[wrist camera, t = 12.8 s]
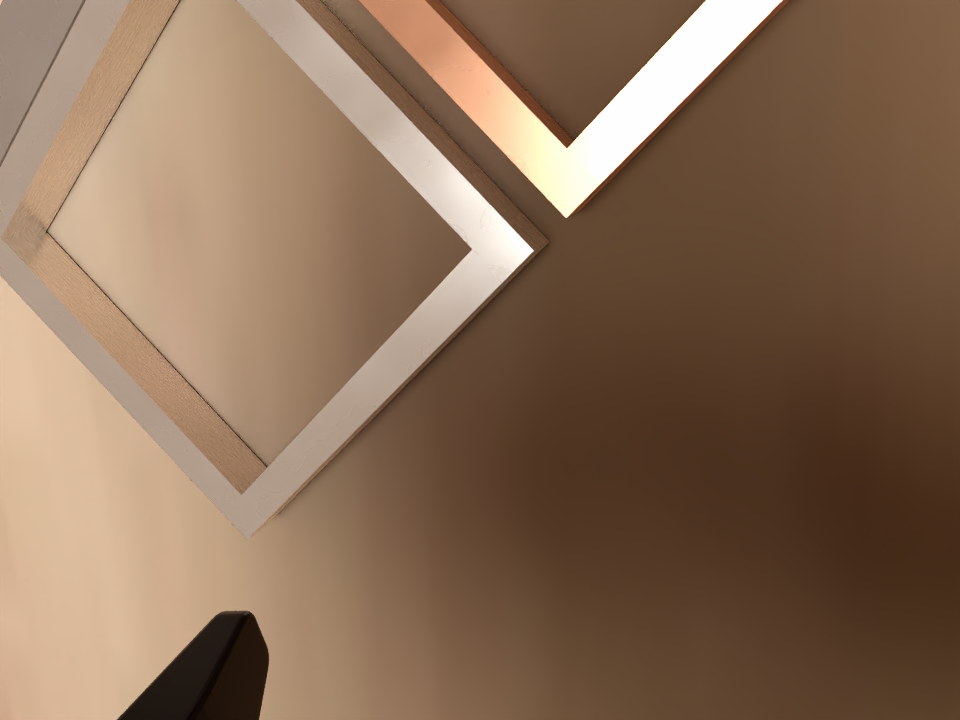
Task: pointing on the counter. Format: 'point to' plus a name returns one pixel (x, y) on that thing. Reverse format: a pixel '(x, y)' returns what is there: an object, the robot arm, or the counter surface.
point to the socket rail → (386, 124)
